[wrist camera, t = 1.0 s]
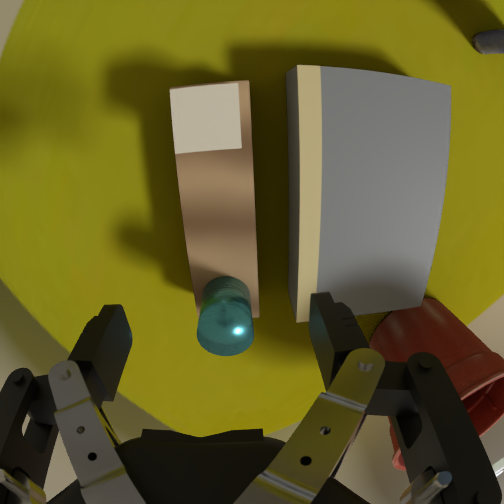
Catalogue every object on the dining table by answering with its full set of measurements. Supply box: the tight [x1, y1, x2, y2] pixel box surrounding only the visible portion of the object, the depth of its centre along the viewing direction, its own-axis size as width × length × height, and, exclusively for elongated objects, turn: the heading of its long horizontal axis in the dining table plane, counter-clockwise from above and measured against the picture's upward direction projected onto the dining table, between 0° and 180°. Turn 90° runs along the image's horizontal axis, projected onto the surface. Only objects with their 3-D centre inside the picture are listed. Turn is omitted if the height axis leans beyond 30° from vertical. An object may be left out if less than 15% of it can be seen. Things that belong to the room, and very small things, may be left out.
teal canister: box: [197, 276, 254, 356], centre depth 25 cm, size 4×4×5 cm
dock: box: [286, 65, 451, 323], centre depth 25 cm, size 21×13×5 cm, turn 3°
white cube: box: [170, 83, 242, 154], centre depth 19 cm, size 4×4×4 cm
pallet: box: [170, 80, 260, 319], centre depth 26 cm, size 20×6×4 cm, turn 3°
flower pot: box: [369, 298, 504, 470], centre depth 29 cm, size 16×16×16 cm
